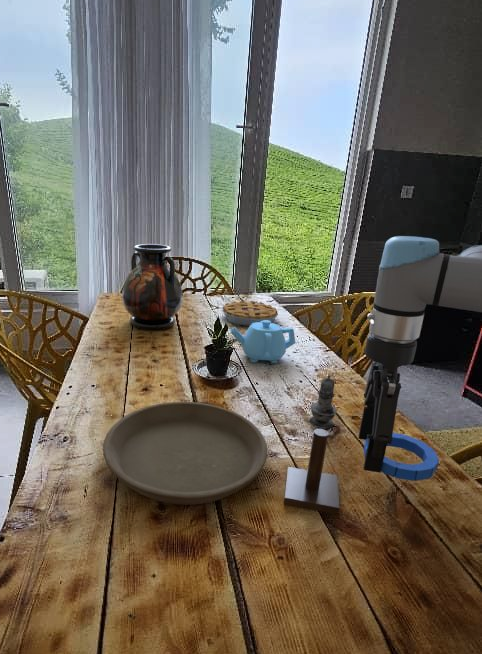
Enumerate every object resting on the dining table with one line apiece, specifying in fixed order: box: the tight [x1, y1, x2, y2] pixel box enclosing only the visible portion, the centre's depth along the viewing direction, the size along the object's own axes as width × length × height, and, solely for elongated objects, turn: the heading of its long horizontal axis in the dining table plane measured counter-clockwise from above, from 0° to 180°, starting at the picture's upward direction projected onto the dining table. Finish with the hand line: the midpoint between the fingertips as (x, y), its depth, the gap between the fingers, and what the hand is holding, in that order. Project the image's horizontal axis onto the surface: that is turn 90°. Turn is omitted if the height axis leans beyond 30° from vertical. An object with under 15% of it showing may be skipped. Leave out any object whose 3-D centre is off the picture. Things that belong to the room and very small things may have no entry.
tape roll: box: [363, 432, 440, 482], centre depth 78 cm, size 12×12×2 cm
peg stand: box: [283, 428, 341, 516], centre depth 76 cm, size 9×9×12 cm
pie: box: [221, 300, 279, 327], centre depth 173 cm, size 22×22×5 cm
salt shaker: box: [309, 374, 338, 430], centre depth 99 cm, size 6×6×12 cm
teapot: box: [229, 320, 296, 364], centre depth 135 cm, size 20×17×12 cm
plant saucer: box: [102, 401, 268, 506], centre depth 85 cm, size 31×31×5 cm
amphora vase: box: [121, 243, 183, 331], centre depth 157 cm, size 22×22×28 cm
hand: (368, 453), depth 80 cm, fingers closed on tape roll, 9 cm apart
